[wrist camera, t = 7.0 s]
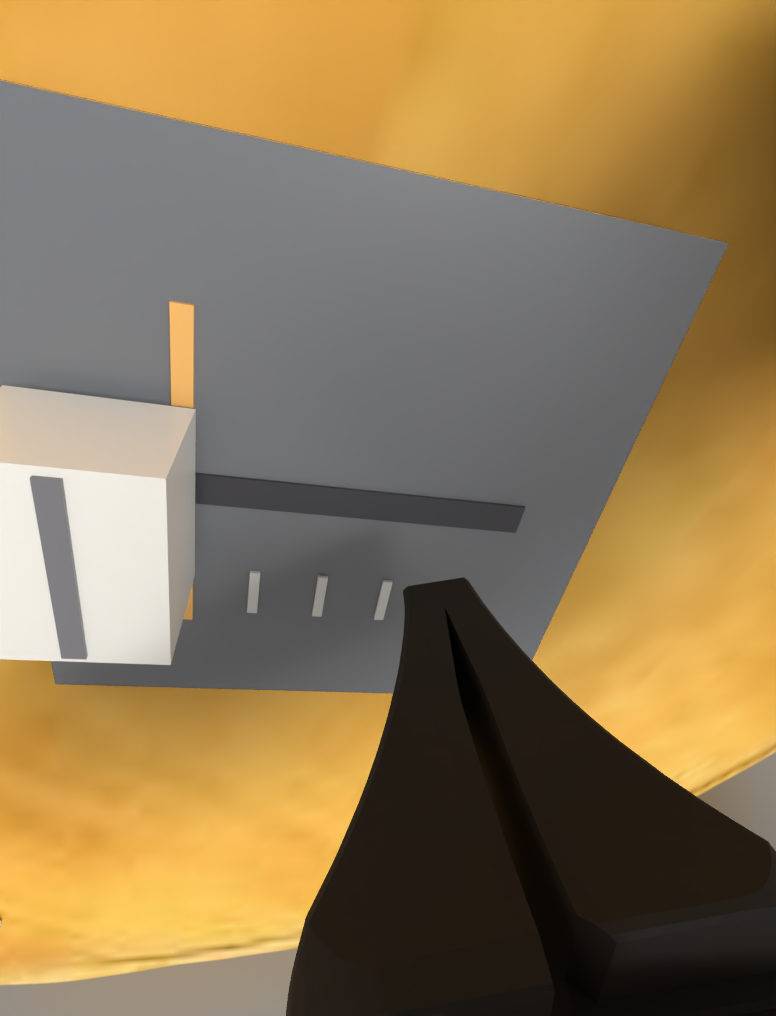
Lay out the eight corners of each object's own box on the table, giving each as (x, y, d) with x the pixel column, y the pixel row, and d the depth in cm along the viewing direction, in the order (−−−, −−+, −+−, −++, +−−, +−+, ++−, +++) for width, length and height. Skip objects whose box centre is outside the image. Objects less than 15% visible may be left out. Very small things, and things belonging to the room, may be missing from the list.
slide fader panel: (670, 229, 15) (731, 244, 13) (496, 647, 23) (515, 699, 21) (3, 79, 12) (-68, 65, 9) (81, 627, 20) (54, 686, 18)
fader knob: (197, 404, 13) (164, 481, 10) (196, 568, 16) (169, 668, 13) (8, 380, 12) (-89, 456, 9) (40, 557, 15) (-27, 661, 12)
